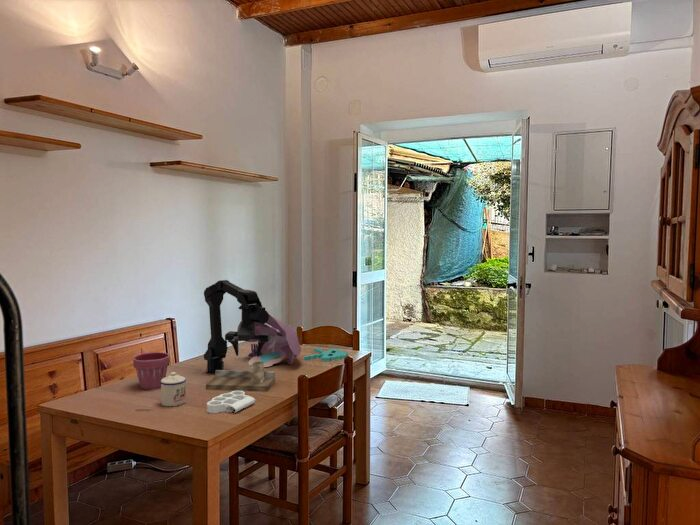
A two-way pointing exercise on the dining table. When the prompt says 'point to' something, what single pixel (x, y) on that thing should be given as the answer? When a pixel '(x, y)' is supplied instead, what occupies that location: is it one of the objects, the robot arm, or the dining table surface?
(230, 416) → the dining table surface
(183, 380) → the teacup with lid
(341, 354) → the alien figure
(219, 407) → the white muffin tray
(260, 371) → the block
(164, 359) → the plant pot
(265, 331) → the mauve curved piece
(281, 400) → the dining table surface
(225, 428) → the dining table surface
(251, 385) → the walnut board
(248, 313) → the robot arm
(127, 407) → the dining table surface
